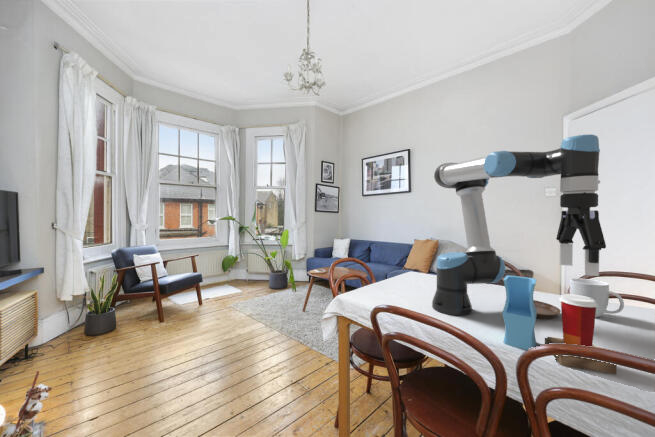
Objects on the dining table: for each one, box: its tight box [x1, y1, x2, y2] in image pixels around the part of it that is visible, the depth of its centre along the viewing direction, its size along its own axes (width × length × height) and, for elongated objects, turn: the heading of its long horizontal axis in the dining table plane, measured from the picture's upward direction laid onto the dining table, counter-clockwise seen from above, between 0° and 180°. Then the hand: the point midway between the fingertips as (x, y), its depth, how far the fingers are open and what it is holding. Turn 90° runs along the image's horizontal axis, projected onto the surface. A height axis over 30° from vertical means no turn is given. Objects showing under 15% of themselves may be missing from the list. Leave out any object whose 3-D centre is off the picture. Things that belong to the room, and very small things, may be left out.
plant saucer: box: [505, 299, 562, 320], centre depth 106 cm, size 18×18×3 cm
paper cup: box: [558, 293, 598, 346], centre depth 72 cm, size 8×8×14 cm
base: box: [544, 336, 617, 375], centre depth 72 cm, size 11×11×3 cm
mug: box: [569, 277, 625, 318], centre depth 102 cm, size 15×11×13 cm
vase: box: [502, 274, 537, 351], centre depth 81 cm, size 8×8×20 cm
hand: (577, 269), depth 72 cm, fingers open, 13 cm apart
